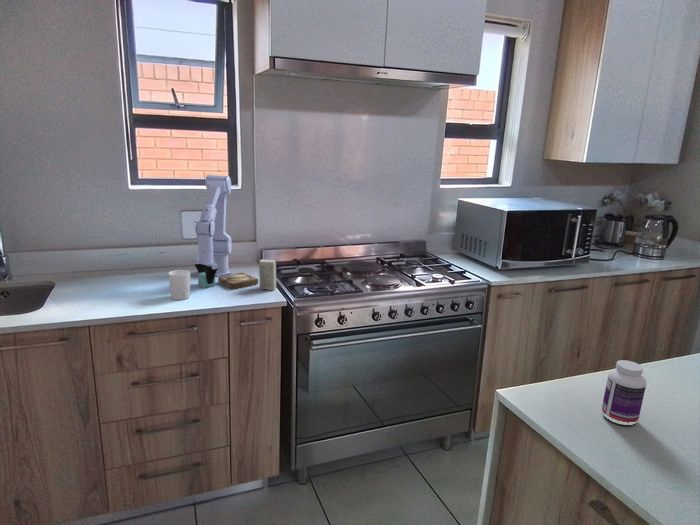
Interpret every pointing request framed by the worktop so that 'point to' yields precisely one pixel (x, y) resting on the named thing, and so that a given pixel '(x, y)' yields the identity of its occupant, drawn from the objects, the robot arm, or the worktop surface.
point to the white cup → (179, 284)
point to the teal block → (204, 280)
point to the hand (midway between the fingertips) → (206, 281)
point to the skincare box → (267, 274)
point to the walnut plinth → (237, 280)
